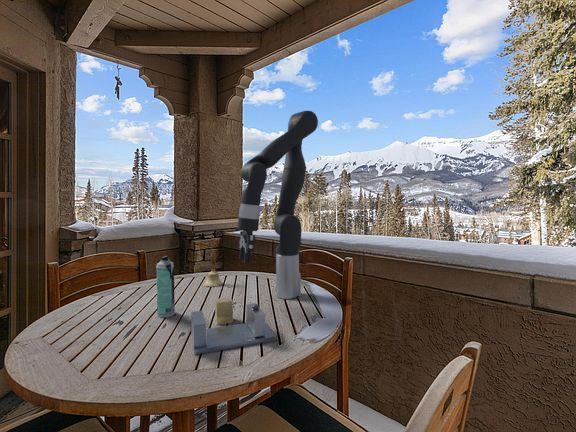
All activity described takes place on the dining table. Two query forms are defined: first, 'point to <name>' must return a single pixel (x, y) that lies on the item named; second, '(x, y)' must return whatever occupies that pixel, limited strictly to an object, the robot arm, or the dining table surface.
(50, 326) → the dining table surface
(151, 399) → the dining table surface
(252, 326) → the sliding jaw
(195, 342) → the vise
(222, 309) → the block
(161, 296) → the spray can
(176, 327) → the dining table surface
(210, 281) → the hand bell
